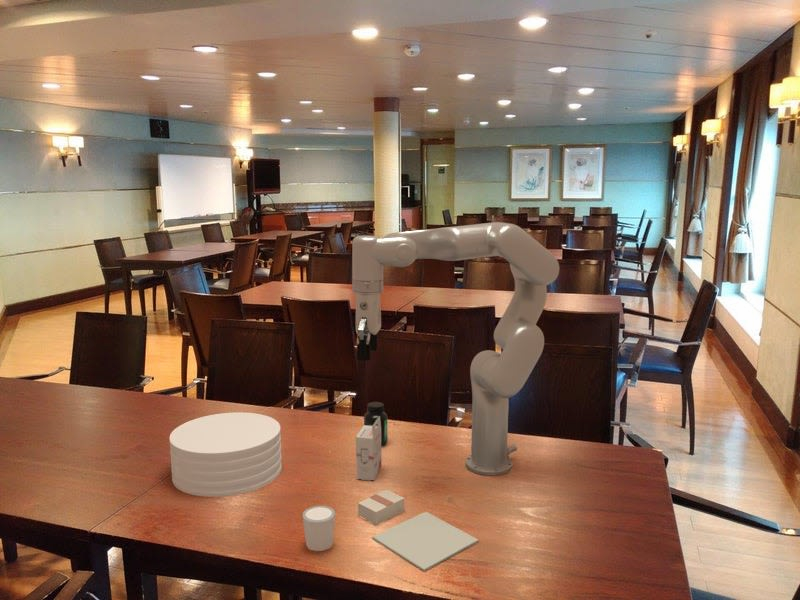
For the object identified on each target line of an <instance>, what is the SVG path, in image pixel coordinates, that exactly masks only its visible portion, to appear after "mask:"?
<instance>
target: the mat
mask: <svg viewBox="0 0 800 600" xmlns="http://www.w3.org/2000/svg"><path fill="white" fill-rule="evenodd" d="M371 538H372V539H371V540H373V541H375V542H376V543H378V544H380V545H381V546H383V547H384V548H386V549H387V550H389V551H391V552H392V553H394V554H396V555H397V556H398V557H399V558H402V559H404V560H405V561H406V562H408V563H409V564H412V565H413V566H415V567H416V568H417V569H419V570H420V571H422V572H424V573H425V572H426V571H428V570H430V569H432V568H433V567H436V566H438V565H439V564H441V563H442V562H444V561H446V560H449V559H450V558H452V557H453V556H455V555H457V554H459V553H461V552H462V551H464V550H466V549H469V548H470V547H472V546H473V545H475V544H478V543H479V539H478V538H476V537H474V536H473V535H470V534H469V533H467V532H465V531H463V530H461V529H460V528H457V527H455V526H453V525H451V524H449V523H448V522H446V521H445V520H443V519H440V518H439V517H437V516H435V515H433V514H431V513H429V512H427V511H424V512H422V513H420V514H418V515H416V516H413V517H411V518H409V519H407V520H405V521H402V522H400V523H399V524H396V525H395V526H392V527H390V528H387V529H385V530H383V531H381V532H378V533H377V534H375V535H373V536H372V537H371Z"/></svg>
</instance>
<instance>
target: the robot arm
mask: <svg viewBox="0 0 800 600" xmlns="http://www.w3.org/2000/svg"><path fill="white" fill-rule="evenodd" d="M351 245H352V256H351V258H352V261H351V262H352V267H351V268H352V270H351V271H352V272H351V273H352V277H351V278H352V279H351V282H352V284H351V286H352V288H351V289H352V294H355V295H356V297H355V332H356V334H357V340H356V360H357V361H367V362H368V361H369V362H370V360H371V351H374V352H375V351H377V350H378V333H379V332H380V330H381V328H382V312H381V311H382V310H381V306H382V305H381V294H383V293H384V266H389V267H396V268H397V267H398V268H403V267H405V268H406V267H408V266H410V265H411V264H413V263H414V262H415V261H416V260H424V259H429V260H431V259H432V260H440V261H447V262H450V261H451V262H456V261H465V260H471V259H473V260H474V259H479V258H480V259H481V258H490V257H500V258H503V259H504V260H506V261H507V262H508V263H509V268H510V271H511V274H512V277H513V279H514V285H515V286H514V293H513V295H512V297H511V300H510V302H509V303H508V306H507V307H506V309H505V311H504V313H503V315H502V316H501V318H500V319H499V321H498V323H497V325H496V327H495V329H494V331H493V340H494V342H495V344H496V345H497V346H498V348H500V349H502V352H501V353H500V352H498V351H494V350H491V349H490V350H489V349H488V350H483V351H480V352H478V353H477V354H476V355H475V356H474V358H473V359H472V360H471V365H470V368H469V369H470V370H469V372H470V373H469V375H470V383H471V392H472V393H471V394H472V397H471V398H472V405H471V406H472V409H471V452H470V453H471V454H469V455H468V456H467V457H466V458H465V463H464V464H465V467H466V468H467V469H468V470H469V471H471V472H472V473H473V472H474V473H475V474H480V475H484V476H499V475H500V476H501V475H503V474H506V473H509V472H510V471H511V470H512V469H513V461H512V460H511V458H510V457H509V456H510V455H511V453H514V452H517V450H518V448H517V447H518V446H517V445H516V444H511V445H508V435H509V434H508V433H509V432H508V429H509V398H512V397H513V396H515V395H516V394H518V393H519V392H520V391H521V389H523V387H524V385H525V383H526V382H527V380H528V379H529V377H530V375H531V373H532V371H534V368H535V366H536V364H537V363H538V361H539V359H540V358H541V356H542V353H543V350H544V347H545V336H544V332H543V331H542V330H541V328H540V327H539V325H537V323H538V321H539V319H540V317H541V315H542V312H544V311H543V310H544V308H545V306H546V302H547V297H548V293H547V291H548V290H547V286H549V285H550V284H552V283H553V282H555V280H557V278H558V276H559V273H560V265H559V264H560V263H559V261H558V259H557V257H556V256H555V255H554V254H553V253H552V251H549V250H548V248H546V247H545V246H544V245H542V244H541V243H540V241H539V242H538V241H537V239H535V238H534V237H533V236H531V235H530V234H529V233H528V232H527V231H526V230H524V229H523V228H522V227H520V226H519V225H516V224H514V223H509V222H508V223H507V222H501V221H500V222H499V221H498V222H497V221H494V222H485V223H476V224H468V225H458V226H447V227H438V228H430V229H419V230H407V231H397V232H391V233H388V234H386V235H384V236H383V237H380V236H378V235H357V236H355V237H354V238H353V239H352V244H351Z"/></svg>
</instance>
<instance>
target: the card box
mask: <svg viewBox="0 0 800 600" xmlns="http://www.w3.org/2000/svg"><path fill="white" fill-rule="evenodd" d="M403 512H405V497H403V496H401V495H398V494H396V493H394V492H392V491H390V490H388V489H384V490H383V491H382V490H381V492H378V493H376V494H373V495H371V496H369V497H368V498H366V499H364V500H361V501H359V502H358V503H357V514H358V515H359V516H358V515H357V516H358V517H360V516H361V517H363V518H365V519H366V521H367V520H368V522H369V521H370V522H369V523H371V522H372V523H371V524H372V525H374V526H378V525H380V524H381V522H382V523H383V521H384V522H386V521H388V520H389V518H390V519H391V517H392V518H393V517H396V516H398V515H399V514H401V513H403ZM361 517H360V518H361ZM363 518H362V519H363ZM365 519H364V520H365ZM387 519H388V520H387ZM385 520H386V521H385ZM379 523H380V524H379Z"/></svg>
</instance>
